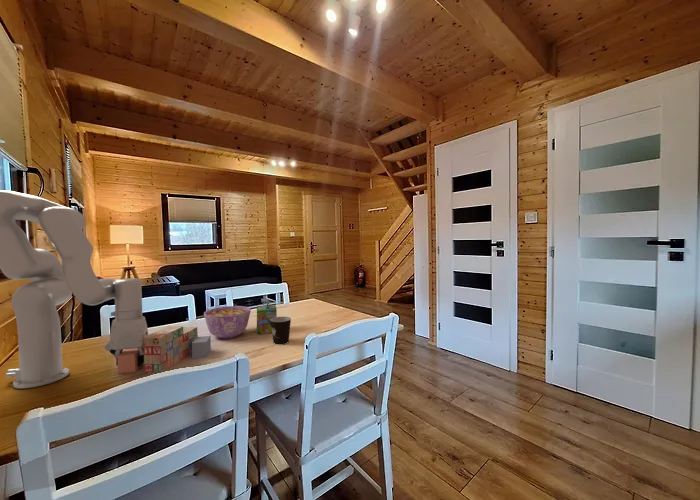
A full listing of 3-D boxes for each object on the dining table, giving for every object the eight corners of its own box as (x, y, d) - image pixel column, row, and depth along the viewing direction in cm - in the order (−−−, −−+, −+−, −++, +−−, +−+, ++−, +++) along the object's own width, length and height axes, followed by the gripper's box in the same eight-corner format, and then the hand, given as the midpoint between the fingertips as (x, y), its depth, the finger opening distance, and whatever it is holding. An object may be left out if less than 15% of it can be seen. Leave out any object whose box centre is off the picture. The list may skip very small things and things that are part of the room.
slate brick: (192, 358, 113) (191, 342, 112) (197, 351, 120) (196, 336, 119) (206, 357, 114) (206, 341, 114) (210, 350, 121) (210, 335, 120)
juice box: (256, 329, 148) (256, 299, 147) (275, 327, 151) (275, 298, 150) (256, 335, 139) (256, 303, 139) (277, 333, 142) (276, 302, 141)
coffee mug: (293, 344, 127) (292, 320, 127) (272, 346, 124) (271, 322, 124) (288, 335, 138) (287, 314, 138) (268, 338, 135) (268, 316, 134)
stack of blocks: (184, 349, 123) (183, 319, 122) (198, 349, 122) (197, 319, 122) (144, 372, 101) (142, 336, 101) (161, 373, 101) (160, 336, 100)
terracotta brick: (118, 373, 101) (117, 356, 100) (127, 365, 107) (127, 348, 107) (135, 371, 102) (134, 354, 102) (143, 363, 109) (143, 347, 108)
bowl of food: (231, 345, 126) (230, 318, 126) (193, 340, 133) (193, 314, 132) (260, 331, 145) (259, 307, 145) (226, 327, 152) (225, 304, 151)
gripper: (93, 319, 98) (96, 373, 99) (153, 315, 102) (155, 367, 103) (105, 313, 105) (108, 364, 106) (161, 310, 110) (162, 359, 110)
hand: (131, 365), depth 105 cm, fingers open, 5 cm apart
